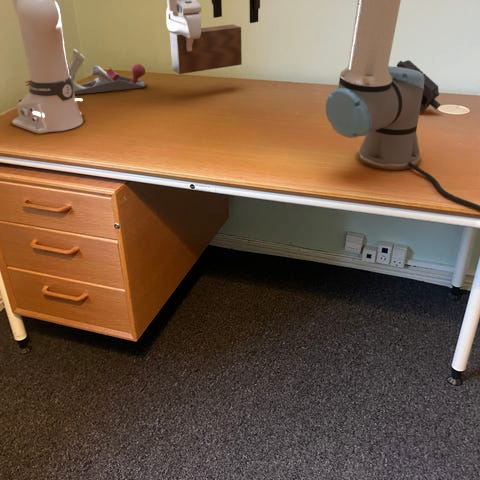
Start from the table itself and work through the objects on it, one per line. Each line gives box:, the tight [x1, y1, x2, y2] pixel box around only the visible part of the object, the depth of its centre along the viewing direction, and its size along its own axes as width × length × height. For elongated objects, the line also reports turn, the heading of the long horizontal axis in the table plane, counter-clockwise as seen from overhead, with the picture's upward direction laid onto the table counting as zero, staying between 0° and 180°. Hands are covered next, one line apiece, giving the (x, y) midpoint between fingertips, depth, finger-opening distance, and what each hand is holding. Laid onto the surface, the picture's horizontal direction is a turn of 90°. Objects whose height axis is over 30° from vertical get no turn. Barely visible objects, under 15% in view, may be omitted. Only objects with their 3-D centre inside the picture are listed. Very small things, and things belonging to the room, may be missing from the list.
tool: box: [396, 59, 442, 114], centre depth 170 cm, size 6×19×15 cm, turn 51°
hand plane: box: [68, 48, 146, 95], centre depth 194 cm, size 7×31×15 cm, turn 107°
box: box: [169, 23, 243, 75], centre depth 182 cm, size 24×6×12 cm, turn 119°
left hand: (184, 48), depth 178 cm, fingers closed on box, 6 cm apart
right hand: (235, 19), depth 146 cm, fingers open, 13 cm apart
